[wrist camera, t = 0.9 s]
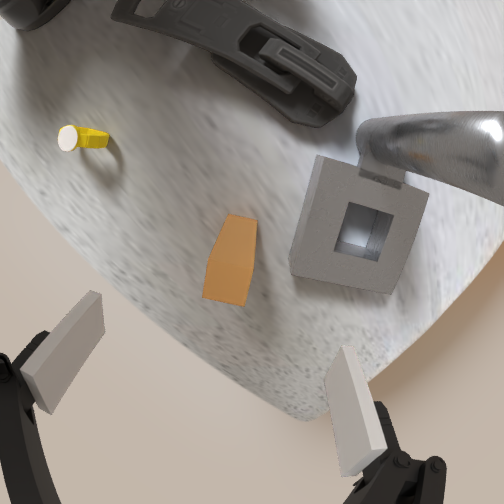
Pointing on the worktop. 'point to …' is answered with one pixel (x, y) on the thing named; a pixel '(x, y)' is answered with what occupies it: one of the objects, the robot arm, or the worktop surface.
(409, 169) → the grey l-shaped piece
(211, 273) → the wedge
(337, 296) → the worktop surface
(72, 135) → the watch
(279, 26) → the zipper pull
